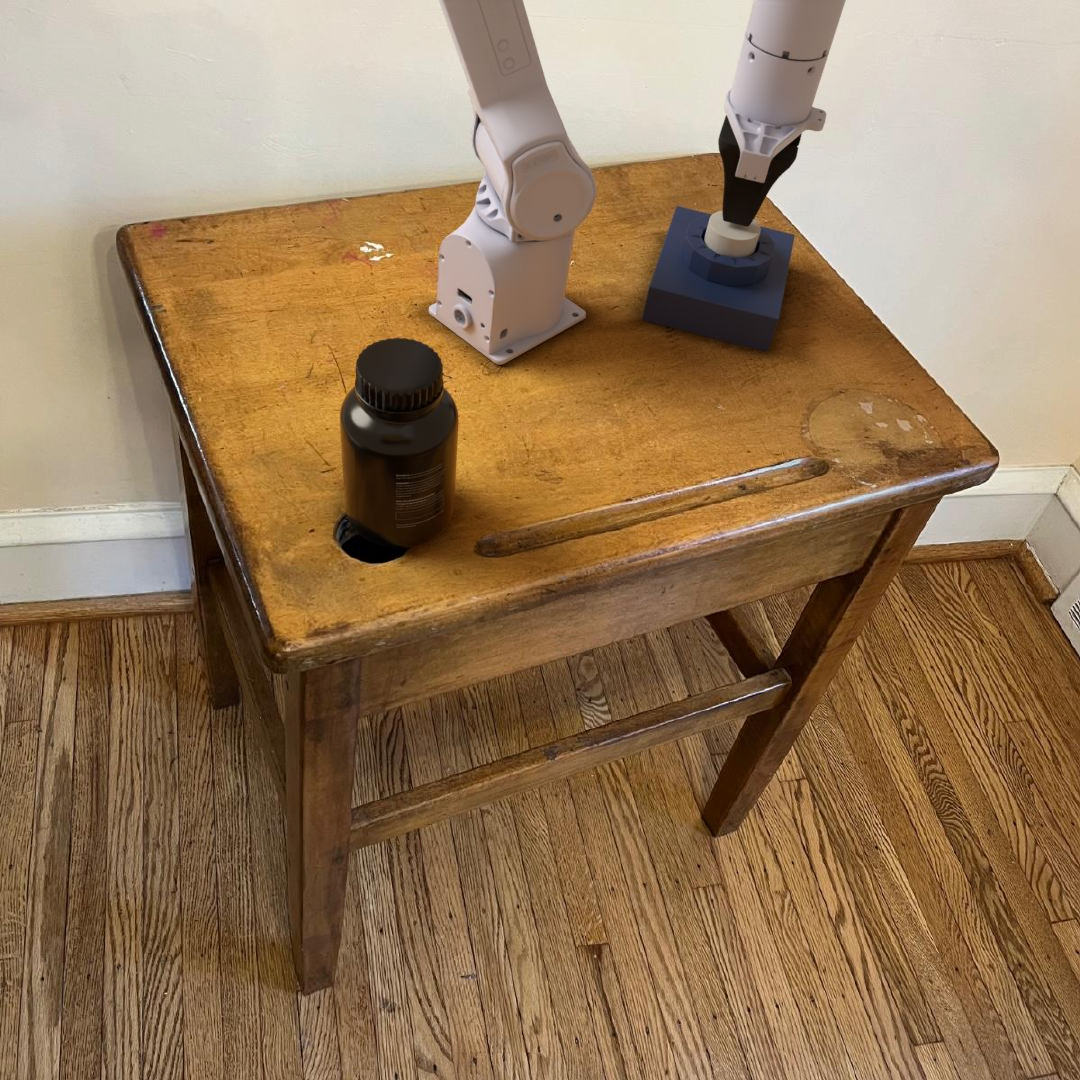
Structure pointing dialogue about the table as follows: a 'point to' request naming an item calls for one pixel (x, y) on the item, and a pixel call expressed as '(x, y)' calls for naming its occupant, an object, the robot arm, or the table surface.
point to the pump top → (731, 237)
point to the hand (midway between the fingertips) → (736, 219)
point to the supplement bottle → (399, 445)
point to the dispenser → (718, 284)
